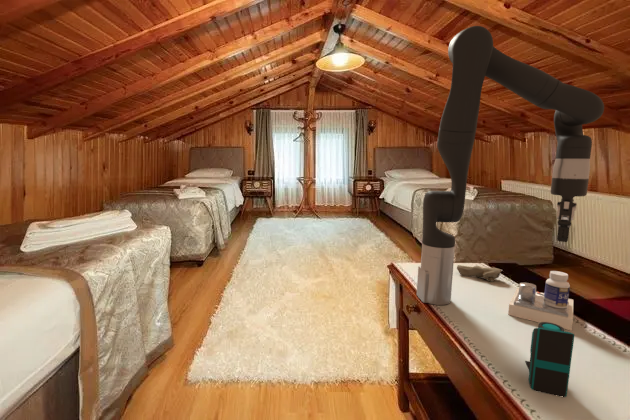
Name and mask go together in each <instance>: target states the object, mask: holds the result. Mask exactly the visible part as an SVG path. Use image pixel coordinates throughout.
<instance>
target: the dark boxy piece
mask: <svg viewBox="0 0 630 420" xmlns="http://www.w3.org/2000/svg"><path fill="white" fill-rule="evenodd" d="M565 330H566V329H564V328H563V327H561V326H559V325H557V324H553V323H549V322H540V323H539V322H538V327H534V329H533V330H532V332H531V340H530V356H529V361H528V360H525V361H524V362H525V364H526V367H527V370H528V383H529V387H530V388H531V390H532V391H534V392H538V393H543V394H547V395H552V396H556V395H557V397H560V396H563V397H562V398H566V397H567V394H568V387H569V380H570V372H571V364H572V358H573V357H572V356H573V351H574V350H573V349H574V340H575V333H573V332H570V331H565Z"/></svg>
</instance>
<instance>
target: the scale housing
mask: <svg viewBox="0 0 630 420" xmlns="http://www.w3.org/2000/svg"><path fill="white" fill-rule="evenodd" d="M518 292H519V287H517V288H516V289H515V291H514V294H513V296H512V297H511V300H510V302H509V303H508V304H509V305H508V313H507V314H508V315H509V316H512V317H516V318H520V319H524V320H529V321H532V322H537V323H538V324H539V323H540V322H549V323H553V324H557V325H559V326H561V327H563V328H564V330H567V331H573V325H574V324H573V322H574V299H572V298H568V302H569V315H568V317H564V316H560V315H556V314H552V313H547V312H543V311H539V310H534V309H530V308H526V307H522V306H517V305H514V301H515V298H516V296H517V294H518ZM536 295H538V296H543V297H544V292H540V291H536Z"/></svg>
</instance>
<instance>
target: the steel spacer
mask: <svg viewBox="0 0 630 420" xmlns="http://www.w3.org/2000/svg"><path fill="white" fill-rule="evenodd" d="M518 288H519V295H518V298H520V299H522V300H525V301H535V296H536V292H537V285H536V284H534V283H531V282H530V283H529V282H520V283H519V287H518Z"/></svg>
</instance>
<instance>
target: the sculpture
mask: <svg viewBox="0 0 630 420" xmlns="http://www.w3.org/2000/svg"><path fill="white" fill-rule="evenodd" d="M456 269H457V272H458V273H459V274H460V275H461V276H463V277H477V278H478V277H479V279H484V280H486V281H488V282H494V281H495V280H496V279H498V278H499V277H500V275H501V273H502V271H503V270H502V269H500V268H497V267H482V266H479V265H474V266H467V265H460V264H457V266H456Z"/></svg>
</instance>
